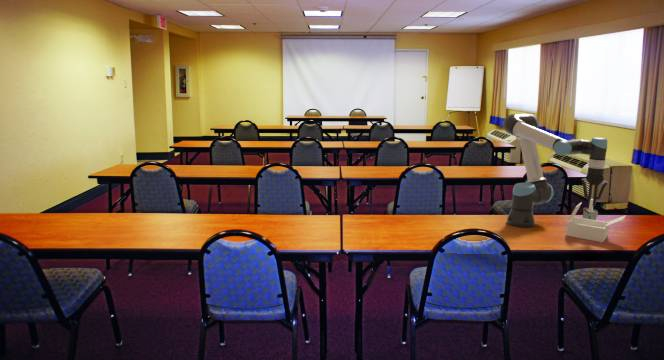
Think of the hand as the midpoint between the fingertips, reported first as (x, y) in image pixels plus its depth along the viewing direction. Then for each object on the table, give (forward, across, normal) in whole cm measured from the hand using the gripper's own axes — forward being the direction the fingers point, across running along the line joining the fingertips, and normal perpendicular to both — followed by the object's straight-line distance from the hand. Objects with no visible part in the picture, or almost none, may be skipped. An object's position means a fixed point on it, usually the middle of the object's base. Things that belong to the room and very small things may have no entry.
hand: (590, 211), depth 271 cm
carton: (+14, 0, 0) cm, 14 cm away
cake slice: (+14, -2, +20) cm, 25 cm away
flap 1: (+2, -7, 0) cm, 7 cm away
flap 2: (+3, +12, 0) cm, 12 cm away
